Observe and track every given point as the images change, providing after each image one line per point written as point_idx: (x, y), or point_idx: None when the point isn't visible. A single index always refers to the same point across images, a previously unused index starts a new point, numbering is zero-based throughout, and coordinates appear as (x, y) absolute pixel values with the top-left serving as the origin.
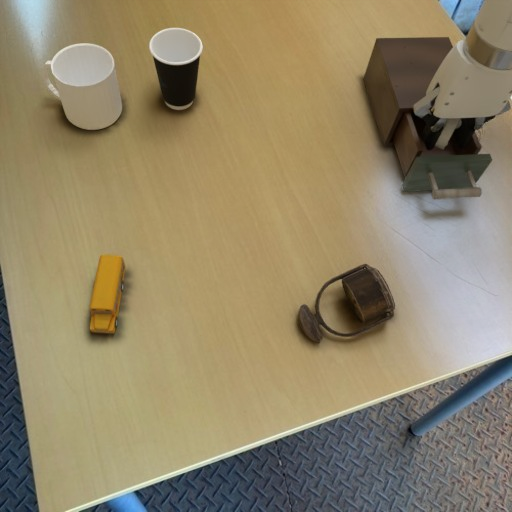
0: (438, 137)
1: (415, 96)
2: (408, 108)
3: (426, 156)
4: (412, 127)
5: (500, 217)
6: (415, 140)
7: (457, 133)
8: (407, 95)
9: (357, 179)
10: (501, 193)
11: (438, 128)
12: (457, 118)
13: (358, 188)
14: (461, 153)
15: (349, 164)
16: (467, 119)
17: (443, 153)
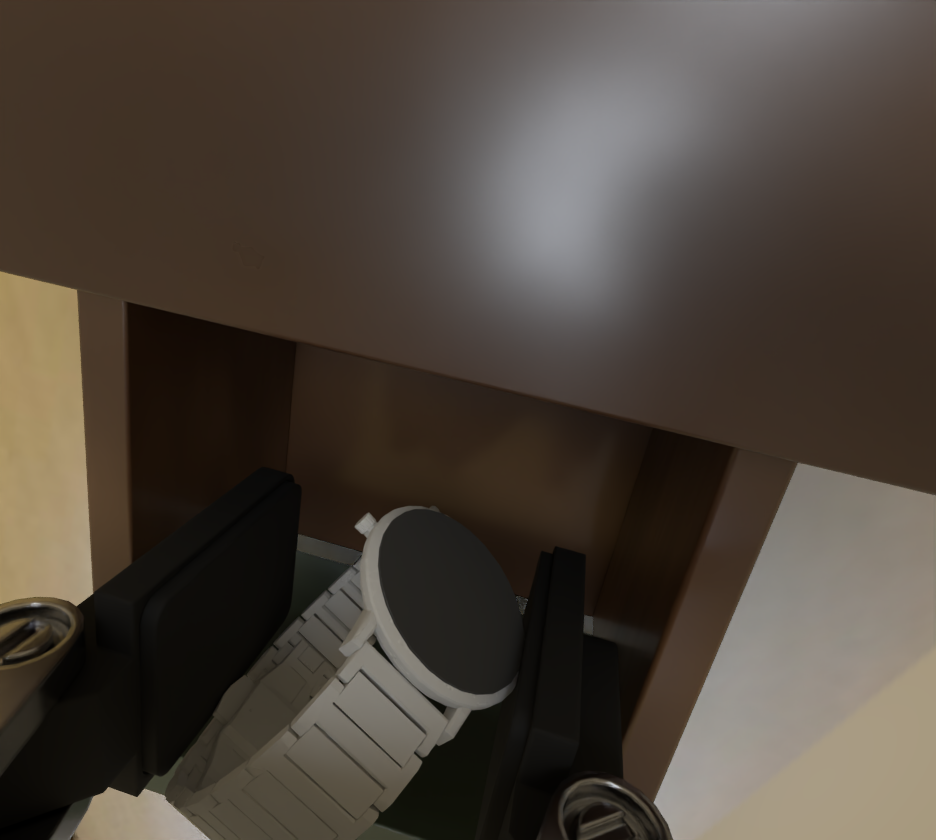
0: (201, 724)
1: (133, 85)
2: (15, 274)
3: (421, 455)
4: (100, 457)
5: (678, 811)
6: (96, 583)
7: (526, 618)
8: (25, 42)
9: (81, 407)
10: (786, 726)
11: (77, 802)
12: (315, 834)
13: (78, 455)
14: (617, 577)
15: (55, 306)
16: (507, 819)
17: (546, 469)
